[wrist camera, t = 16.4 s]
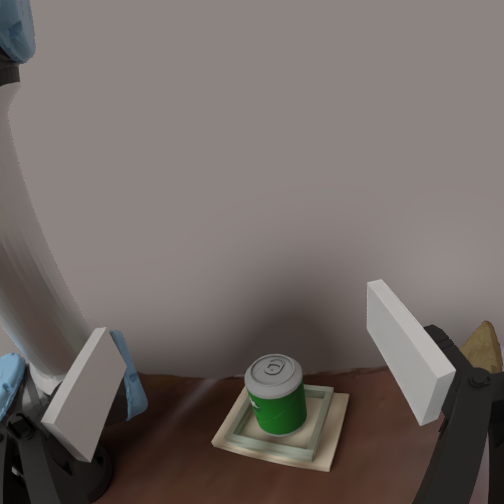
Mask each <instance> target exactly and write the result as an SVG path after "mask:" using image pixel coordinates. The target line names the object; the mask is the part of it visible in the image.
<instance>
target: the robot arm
mask: <svg viewBox="0 0 504 504" xmlns="http://www.w3.org/2000/svg"><path fill="white" fill-rule="evenodd" d="M34 36H35V34H34V26H33V20H32V13H31V7H30V2H29V0H0V325H1V326H2V328H3V329H4V330H5V332H6V333H7V334H8V336H9V337H10V338H11V339H12V340H13V342H14V343H15V344H16V346H17V347H18V348H19V349H20V350H21V351H22V353H23V354H24V355H25V356H26V358H27V359H28V360H29V361H30V363H29V364H26V363H25V359H24V358H23V357H21V356H20V355H19V354H17V353H9V354H6V355H4V356H2V357H1V358H0V504H90V503H91V502H93V501H95V500H96V499H98V498H99V497H100V496H101V495H102V494H103V493H104V492H105V490H106V489H107V487H108V485H109V483H110V481H111V477H112V461H111V458H110V456H109V454H108V452H107V451H106V450H105V449H104V447H103V446H102V445H101V444H100V443H99V442H98V440H99V437H100V435H101V432H102V429H103V428H105V427H107V426H110V425H113V424H116V423H118V422H121V421H124V420H125V421H128V420H130V419H131V418H132V417H134V416H136V415H138V414H140V413H142V412H144V411H145V410H146V408H147V406H148V400H147V398H146V395H145V393H144V390H143V388H142V385H141V383H140V380H139V378H138V375H137V372H136V370H135V368H134V364H133V362H132V359H131V356H130V354H129V351H128V348H127V345H126V342H125V340H124V337H123V334H122V333H121V331H118V330H115V331H108V329H107V327H103V326H102V325H101V324H100V323H99V322H97V321H95V320H94V319H92V318H88V317H84V316H83V314H82V313H81V311H80V309H79V307H78V306H77V304H76V302H75V300H74V298H73V296H72V294H71V292H70V291H69V289H68V287H67V285H66V283H65V281H64V279H63V277H62V275H61V273H60V270H59V268H58V266H57V264H56V262H55V260H54V258H53V255H52V253H51V251H50V249H49V247H48V244H47V242H46V239H45V237H44V235H43V232H42V230H41V227H40V225H39V222H38V219H37V217H36V214H35V212H34V209H33V206H32V203H31V200H30V197H29V195H28V191H27V189H26V186H25V182H24V179H23V176H22V172H21V169H20V166H19V162H18V158H17V155H16V151H15V147H14V143H13V139H12V135H11V130H10V125H9V120H8V115H7V113H8V109H9V106H10V104H11V102H12V100H13V99H14V97H15V95H16V93H17V91H18V90H19V88H20V77H19V64H23V63H26V62H27V61H28V60H29V59H30V58H32V57H33V55H34V53H35V39H34ZM367 330H368V332H369V333H370V335H371V337H372V338H373V340H374V342H375V344H376V345H377V347H378V349H379V351H380V352H381V354H382V356H383V358H384V359H385V361H386V363H387V365H388V367H389V368H390V370H391V372H392V374H393V376H394V377H395V379H396V381H397V383H398V385H399V386H400V388H401V390H402V392H403V394H404V396H405V398H406V399H407V401H408V403H409V405H410V407H411V409H412V411H413V413H414V415H415V417H416V419H417V421H418V422H419V424H420V426H422V425H425V424H427V423H429V422H432V421H434V420H436V419H438V416H439V414H440V412H441V410H442V412H443V414H444V415H445V419H444V421H443V423H442V425H441V427H440V430H439V432H440V435H439V438H438V441H437V444H436V447H435V450H434V452H433V455H432V458H431V461H430V463H429V466H428V468H427V471H426V473H425V476H424V478H423V481H422V483H421V485H420V488H419V490H418V492H417V494H416V497H415V499H414V501H413V503H412V504H469V501H470V498H471V495H472V492H473V489H474V486H475V482H476V479H477V475H478V472H479V468H480V464H481V460H482V456H483V452H484V447H485V442H486V437H487V432H488V437H489V494H488V504H504V372H499V373H494V374H491V373H490V372H489V371H487V370H486V369H483V368H480V367H473V366H472V365H471V363H470V362H469V361H468V360H467V358H466V357H465V356H464V355H463V354H462V352H461V351H460V350H459V349H458V348H457V346H456V345H454V343H453V342H452V340H451V339H449V337H448V336H447V335H446V333H444V331H443V330H442V329H440V328H438V327H436V326H434V325H430V326H426V327H422V326H421V325H420V324H419V322H418V321H417V320H416V319H415V318H414V316H413V315H412V314H411V313H410V312H409V310H408V309H407V308H406V307H405V306H404V305H403V304H402V302H401V301H400V300H399V299H398V298H397V296H396V295H395V294H394V293H393V292H392V291H391V290H390V288H389V287H388V286H387V285H386V284H385V283H384V282H383V281H382V279H380V280H376V281H372V282H368V283H367ZM12 467H13V468H14V469H15V470H16V471H17V475H15V474H14V473H13V472H12Z"/></svg>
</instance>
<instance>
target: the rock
mask: <svg viewBox="0 0 504 504" xmlns="http://www.w3.org/2000/svg"><path fill="white" fill-rule="evenodd" d="M459 350H460V351H461V352H462V354H463V355H464V356H465V357H466V358H467V360H468V361H469V362H470V363H471V365H472V366H473V367H480V368H483V369H486V370H487V371H489V372H490V373H491V374H494V373H499V372H502V365H503V363H502V357H501V350H500V344H499V342H498V341H497V336H496V333H495V331H494V327H493V325H492V324H491V323H490V322H488V321H484V322H483V323H482V324H481V325H480V326H479V327H478V328H477V329H476V331H475V332H474V333H473V334H472V335H471V336H470V338H469V339H468V340H467V341H466V343H465V344H464V345H463V346H462V347H461V348H460V349H459Z"/></svg>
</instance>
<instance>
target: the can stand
mask: <svg viewBox="0 0 504 504" xmlns="http://www.w3.org/2000/svg"><path fill="white" fill-rule="evenodd" d="M304 391H305V399H306V408H307V420H306V423H305V424H304V426H303V427H302V428H301V429H300V430H299V431H298V432H296V433H294V434H292V435H289V436H284V437H276V436H271V435H269V434H266V433H265V432H264V431H263V430H262V429H260V426H259V424H258V422H257V419H256V416H255V413H254V410H253V407H252V404H251V401H250V397H249V394H248V391H247V388H246V385H245V387H244V389H243V390H242V392H241V394H240V395H239V397H238V399H237V400H236V402H235V404H234V406H233V407H232V409H231V411H230V412H229V414H228V416H227V417H226V419H225V420H224V422H223V424H222V425H221V427H220V429H219V430H218V432H217V434H216V435H215V437H214V438H213V440H212V444H213V445H214V446H215V447H218V448H221V449H224V450H228V451H231V452H234V453H238V454H242V455H245V456H249V457H253V458H257V459H261V460H265V461H270V462H274V463H279V464H284V465H289V466H294V467H300V468H306V469H312V470H319V471H326V472H329V471H330V468H331V464H332V461H333V458H334V455H335V451H336V448H337V444H338V441H339V437H340V433H341V430H342V426H343V422H344V418H345V414H346V410H347V405H348V401H349V394H343V393H334V389H333V387H324V386H314V385H305V384H304Z"/></svg>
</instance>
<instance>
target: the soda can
mask: <svg viewBox="0 0 504 504" xmlns="http://www.w3.org/2000/svg"><path fill="white" fill-rule="evenodd" d="M245 385H246V388H247V391H248V394H249V397H250V401H251V404H252V407H253V410H254V413H255V416H256V419H257V422H258V424H259V426H260V429H262V430H263V431H264V432H265V433H266V434H269V435H271V436H276V437H284V436H289V435H292V434H294V433H296V432H298V431H299V430H300V429H301V428H302V427H303V426H304V424H305V423H306V420H307V408H306V399H305V391H304V383H303V375H302V370H301V366H300V365H299V363H298V362H297V361H295V360H294V359H292V358H290V357H287V356H285V355H282V354H270V355H266V356H263V357H261V358H259V359H257V360H256V361H255V362H254V363H253V364H252V365H251V366H250V367H249V368H248V369H247V371H246V374H245Z"/></svg>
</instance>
